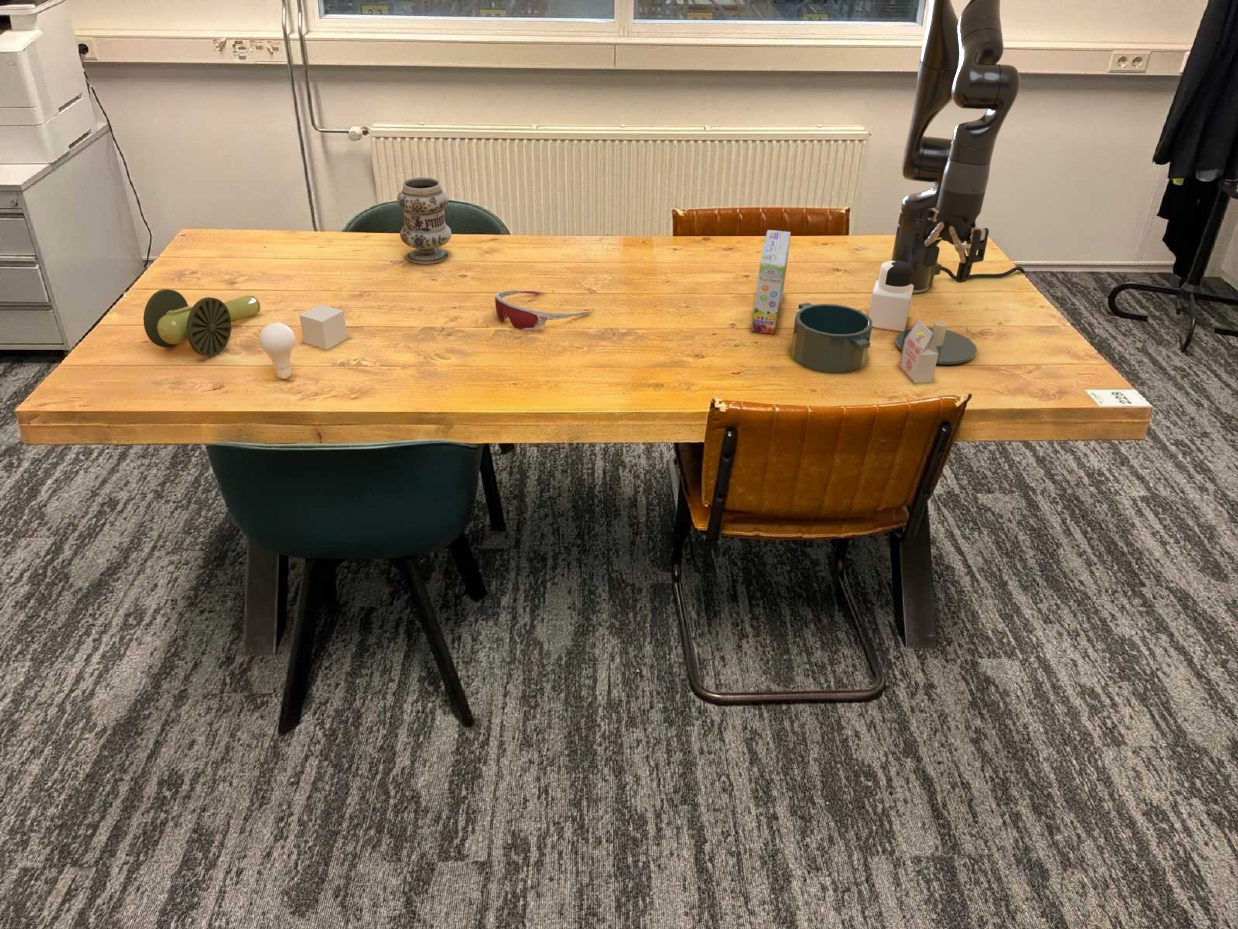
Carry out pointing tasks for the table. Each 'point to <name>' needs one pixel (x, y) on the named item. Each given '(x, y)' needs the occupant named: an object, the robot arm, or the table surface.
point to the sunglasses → (525, 312)
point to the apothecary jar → (424, 220)
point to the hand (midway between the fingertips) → (944, 273)
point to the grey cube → (323, 326)
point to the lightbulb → (278, 347)
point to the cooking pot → (830, 338)
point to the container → (892, 296)
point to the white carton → (919, 354)
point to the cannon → (194, 320)
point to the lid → (946, 344)
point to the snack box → (771, 281)
